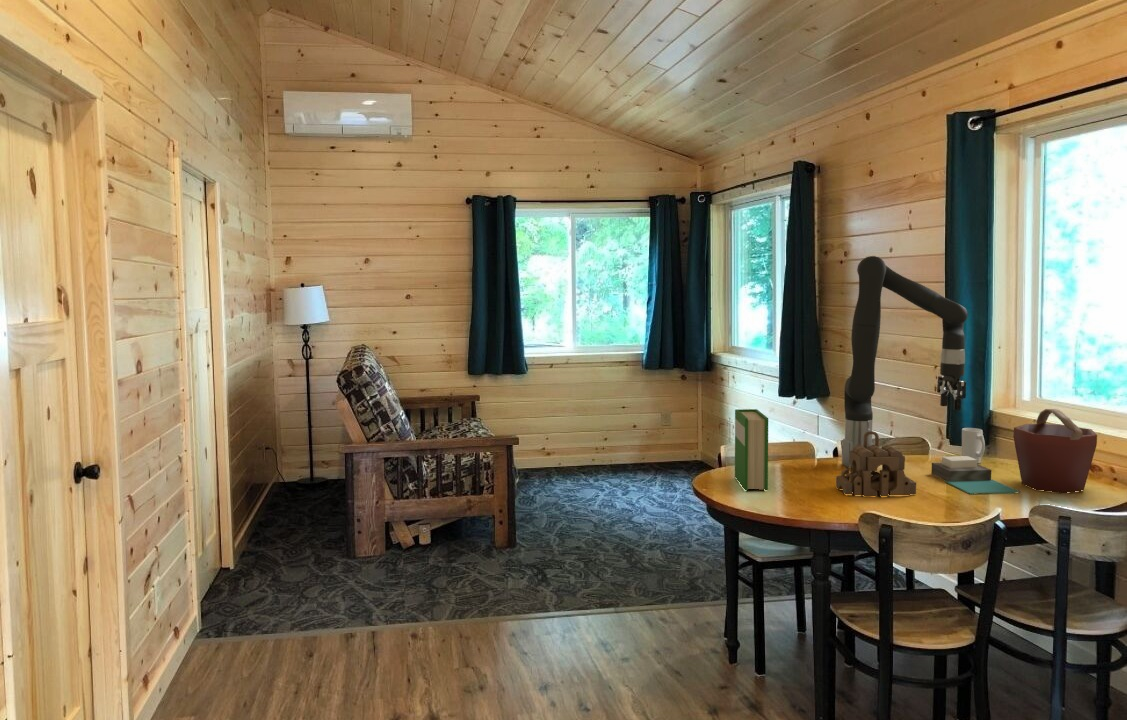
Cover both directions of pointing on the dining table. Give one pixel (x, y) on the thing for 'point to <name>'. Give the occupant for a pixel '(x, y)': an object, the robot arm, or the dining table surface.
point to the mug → (973, 443)
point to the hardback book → (751, 449)
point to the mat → (982, 486)
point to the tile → (959, 461)
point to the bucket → (1054, 453)
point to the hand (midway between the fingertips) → (950, 408)
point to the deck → (961, 473)
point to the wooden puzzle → (869, 460)
